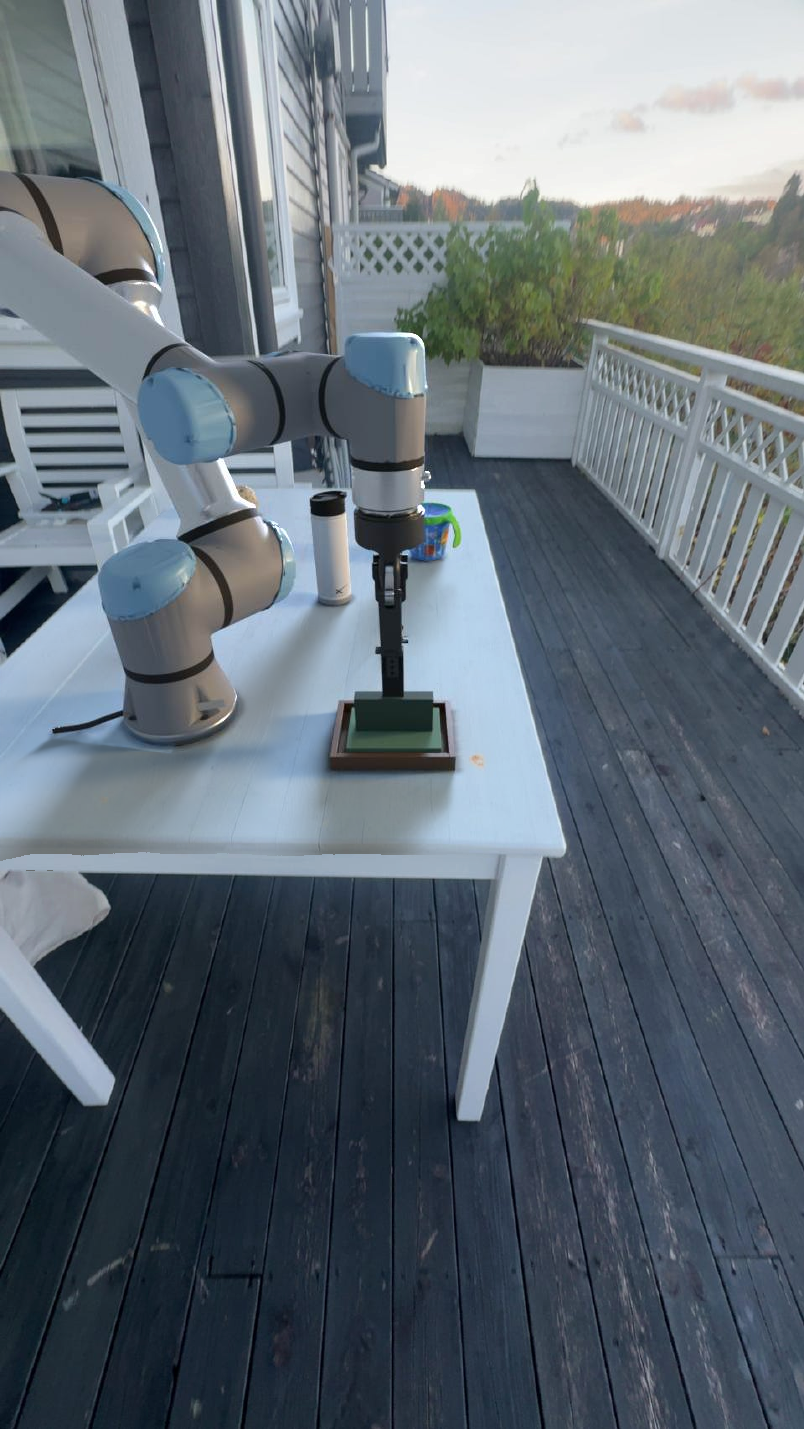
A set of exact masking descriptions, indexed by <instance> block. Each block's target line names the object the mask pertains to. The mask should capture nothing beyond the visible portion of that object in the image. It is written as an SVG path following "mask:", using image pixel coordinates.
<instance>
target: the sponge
mask: <svg viewBox="0 0 804 1429" xmlns="http://www.w3.org/2000/svg"><path fill="white" fill-rule="evenodd" d="M235 487H236V490H237V492H238V494H239V496H240V497H241V498H242V499H245V500H246V501H248V502H250V503H252V504H254V505H256V508H257V510H258V512H259V513H260V510H259V501H258V499H257V494H256V493H255V491H254V490H253V489H252V488H251V487H249V486H247V485H242V484H241V485H238V486H235Z"/></svg>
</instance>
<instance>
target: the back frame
mask: <svg viewBox="0 0 804 1429" xmlns="http://www.w3.org/2000/svg"><path fill="white" fill-rule="evenodd" d="M451 703H452V702H451V700H450V699H433V708H439V717H440V733H441V753H346V745H347V738H348V731H349V724H350V716H351V709H352V708H354V699H341V700H340V699H339V700H338V703H337V710H336V716H335V721H334V726H333V734H332V740H331V746H330V751H329V766H330V770H331V771H455V770H456V761H457V756H456V744H455V736H454V735H455V733H454V723H453V715H452V714H453V713H452V704H451Z"/></svg>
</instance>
